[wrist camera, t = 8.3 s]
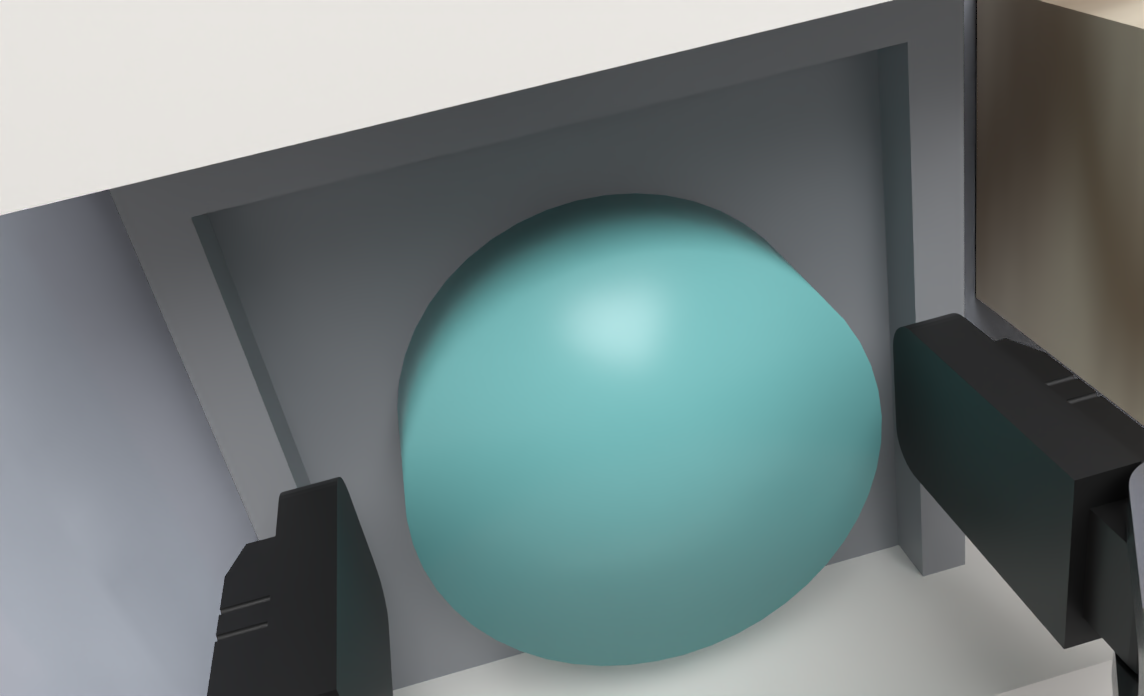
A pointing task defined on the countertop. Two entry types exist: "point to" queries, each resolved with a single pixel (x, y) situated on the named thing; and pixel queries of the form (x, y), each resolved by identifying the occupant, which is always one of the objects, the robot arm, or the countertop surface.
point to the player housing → (297, 71)
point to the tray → (585, 170)
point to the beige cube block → (1065, 183)
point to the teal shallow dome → (631, 431)
